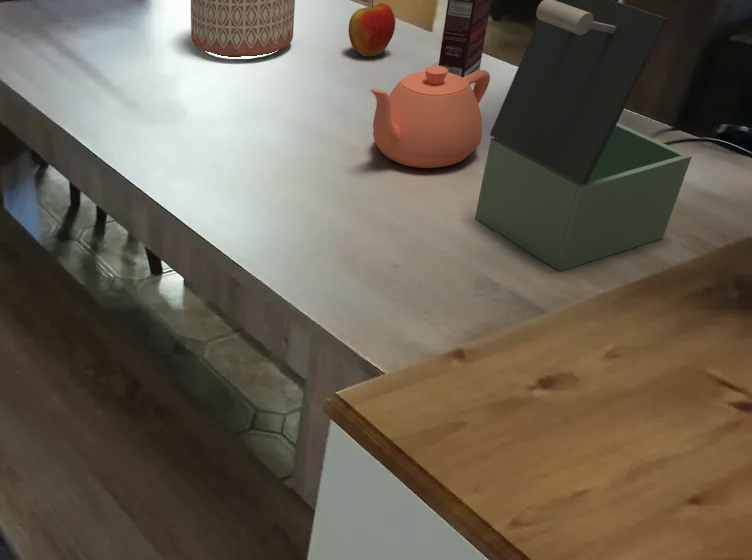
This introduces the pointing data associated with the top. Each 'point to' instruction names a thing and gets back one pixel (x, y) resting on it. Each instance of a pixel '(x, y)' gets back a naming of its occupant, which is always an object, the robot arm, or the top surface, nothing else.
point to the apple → (371, 29)
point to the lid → (576, 81)
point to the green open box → (583, 199)
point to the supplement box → (464, 36)
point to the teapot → (430, 118)
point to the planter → (242, 26)
